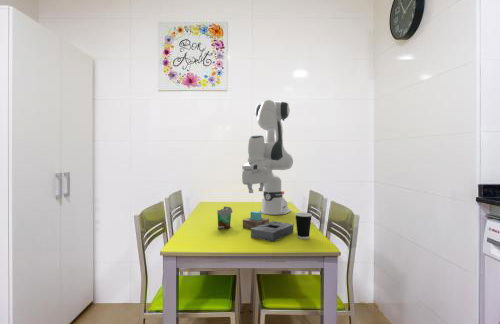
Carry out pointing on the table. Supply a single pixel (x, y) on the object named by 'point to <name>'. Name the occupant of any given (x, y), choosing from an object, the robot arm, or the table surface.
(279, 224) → the port box
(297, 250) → the table surface
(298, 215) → the dixie cup
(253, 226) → the brown hollow square block
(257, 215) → the plug
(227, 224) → the food container
